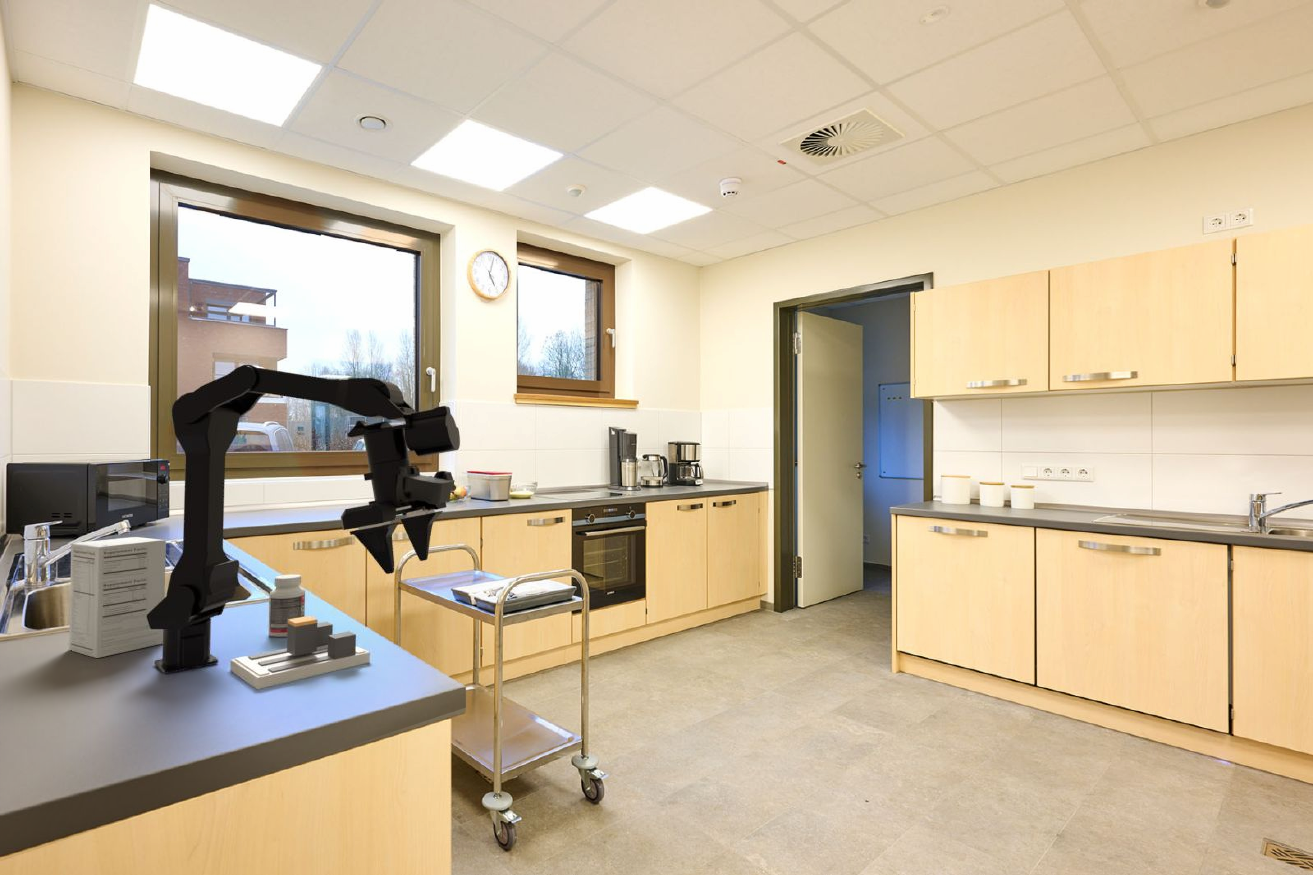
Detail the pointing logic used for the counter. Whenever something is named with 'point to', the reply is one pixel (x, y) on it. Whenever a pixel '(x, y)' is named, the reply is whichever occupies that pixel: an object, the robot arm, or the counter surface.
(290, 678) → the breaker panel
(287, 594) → the pill bottle
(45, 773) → the counter surface
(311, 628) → the block
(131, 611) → the supplement box
